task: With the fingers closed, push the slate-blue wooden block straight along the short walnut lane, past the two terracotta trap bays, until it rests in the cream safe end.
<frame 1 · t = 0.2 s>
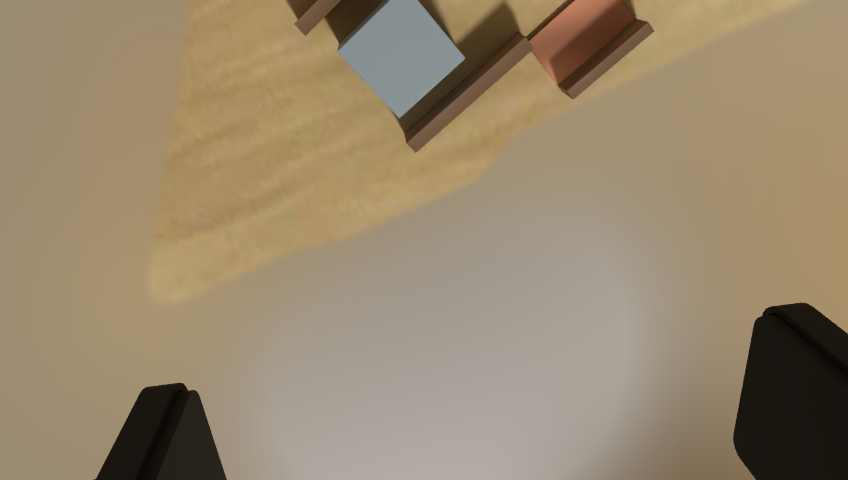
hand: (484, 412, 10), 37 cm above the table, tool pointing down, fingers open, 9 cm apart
slate block: (398, 46, 43), on the table
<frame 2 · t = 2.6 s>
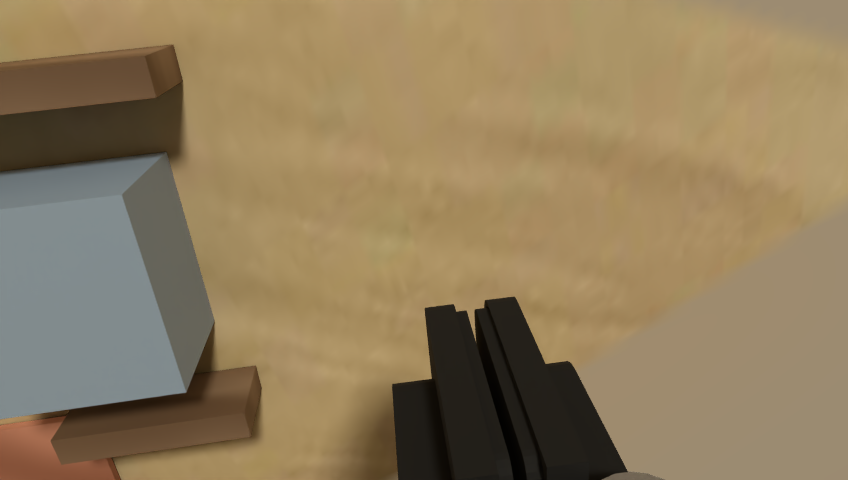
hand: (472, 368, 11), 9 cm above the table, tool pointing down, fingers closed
slate block: (98, 251, 19), on the table
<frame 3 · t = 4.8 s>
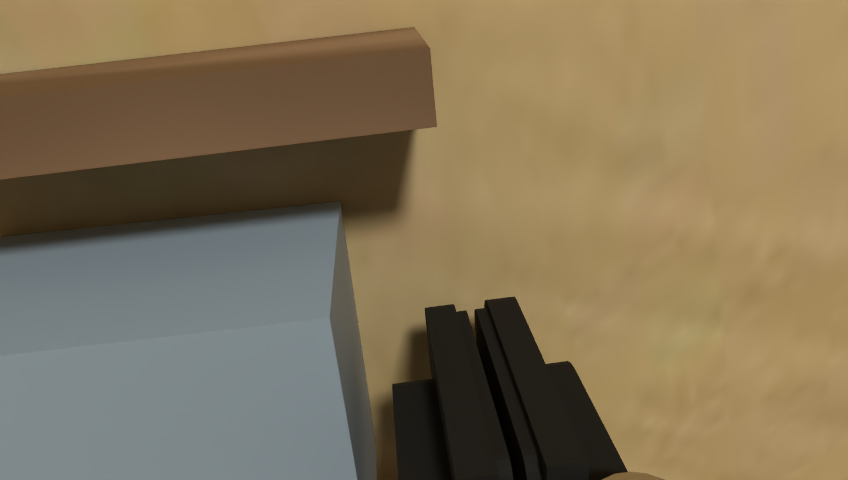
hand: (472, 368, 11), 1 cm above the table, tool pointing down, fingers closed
slate block: (213, 351, 12), on the table
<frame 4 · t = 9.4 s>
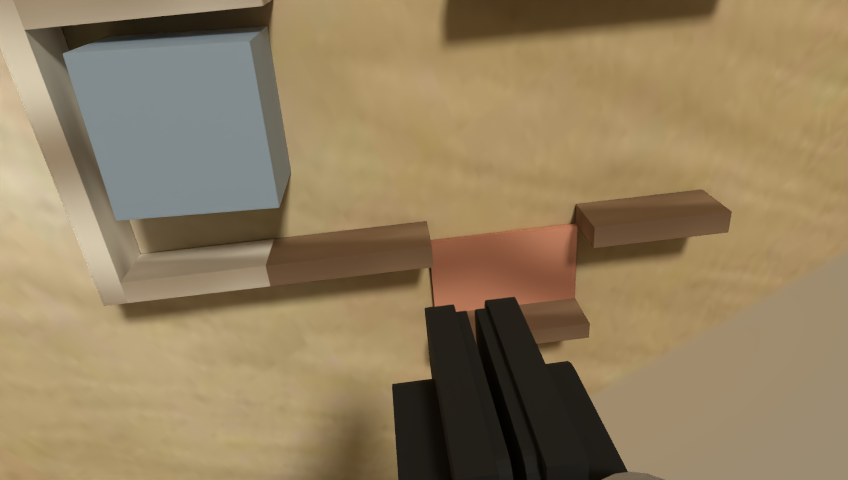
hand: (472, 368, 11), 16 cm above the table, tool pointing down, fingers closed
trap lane: (487, 106, 25), on the table
slate block: (206, 107, 24), on the table
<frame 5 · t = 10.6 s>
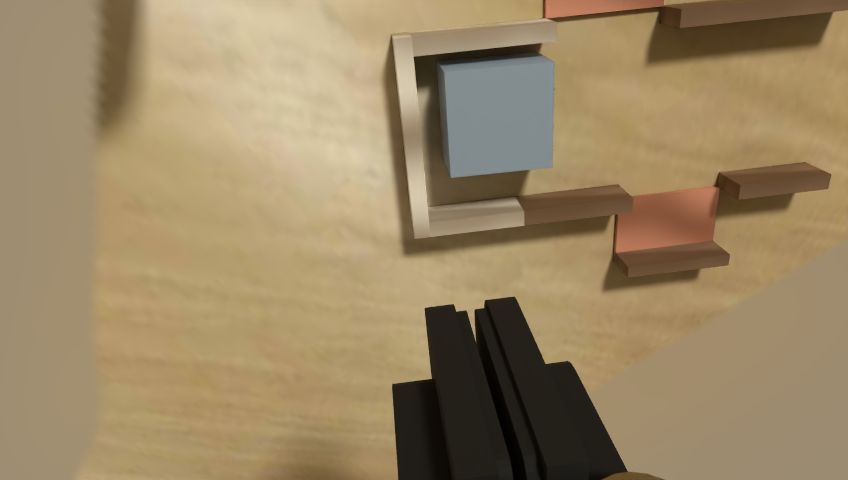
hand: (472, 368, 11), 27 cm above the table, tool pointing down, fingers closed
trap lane: (668, 105, 38), on the table
slate block: (487, 105, 37), on the table
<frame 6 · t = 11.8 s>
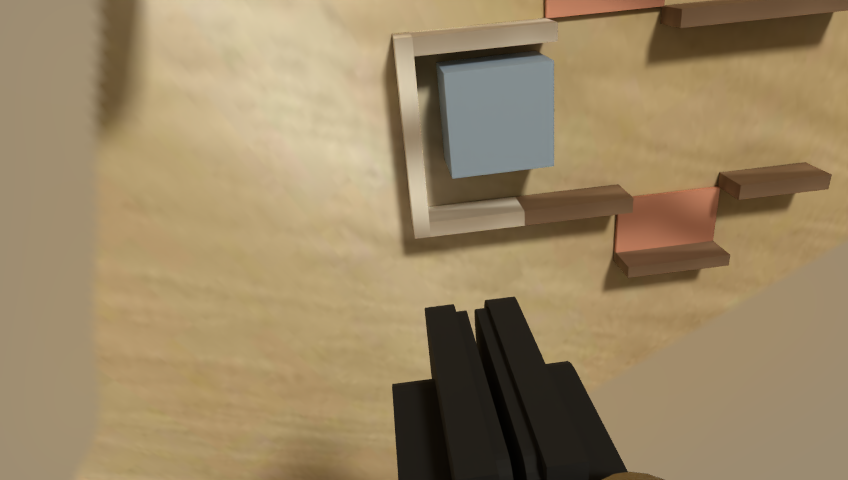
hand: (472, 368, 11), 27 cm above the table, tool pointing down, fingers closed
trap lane: (668, 105, 37), on the table
slate block: (487, 105, 37), on the table
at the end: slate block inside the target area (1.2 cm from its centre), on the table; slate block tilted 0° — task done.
